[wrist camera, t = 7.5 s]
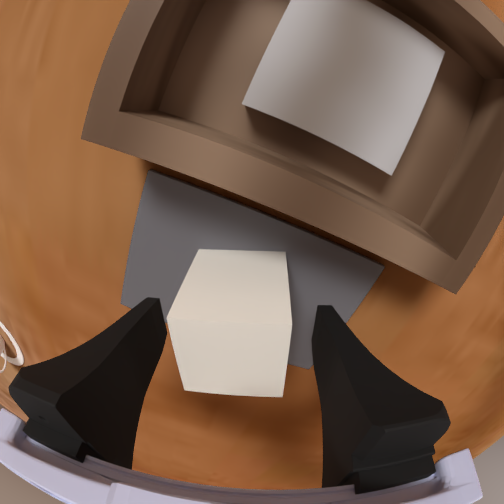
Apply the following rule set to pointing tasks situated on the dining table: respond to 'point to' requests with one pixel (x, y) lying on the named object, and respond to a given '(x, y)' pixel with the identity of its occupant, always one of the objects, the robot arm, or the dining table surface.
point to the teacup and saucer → (16, 361)
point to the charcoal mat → (238, 238)
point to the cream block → (233, 323)
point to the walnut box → (323, 115)
